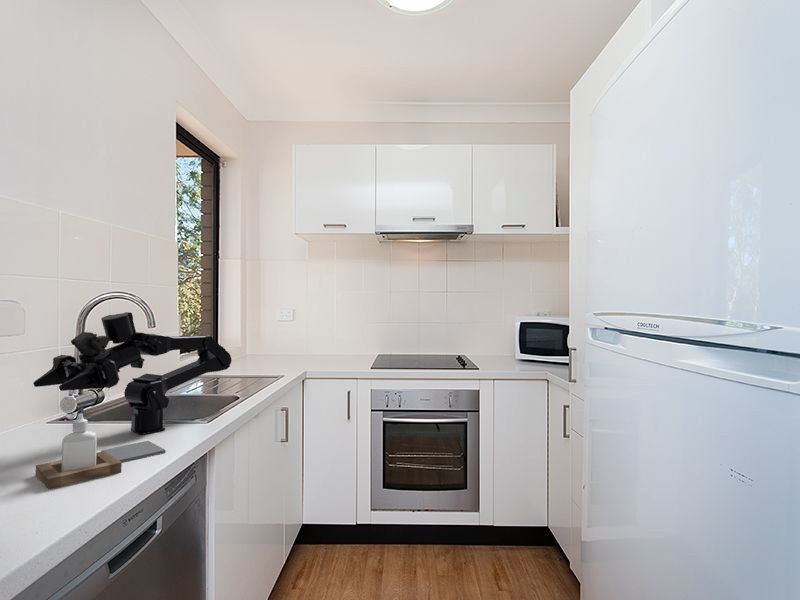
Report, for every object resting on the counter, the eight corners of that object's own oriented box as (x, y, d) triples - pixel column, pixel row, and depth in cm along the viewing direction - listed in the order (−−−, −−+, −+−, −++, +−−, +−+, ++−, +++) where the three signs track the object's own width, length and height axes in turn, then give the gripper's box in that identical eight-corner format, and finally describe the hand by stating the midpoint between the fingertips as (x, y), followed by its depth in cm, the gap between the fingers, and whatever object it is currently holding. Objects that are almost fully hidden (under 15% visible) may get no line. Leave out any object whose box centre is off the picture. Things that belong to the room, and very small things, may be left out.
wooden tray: (105, 460, 99) (105, 451, 99) (121, 472, 92) (121, 462, 92) (35, 475, 90) (35, 465, 90) (48, 489, 83) (48, 478, 83)
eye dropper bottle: (85, 478, 89) (86, 417, 89) (56, 477, 89) (58, 416, 89) (100, 470, 93) (101, 411, 93) (72, 469, 93) (74, 411, 93)
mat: (148, 443, 111) (148, 440, 111) (165, 452, 105) (165, 449, 105) (101, 452, 104) (101, 450, 104) (116, 463, 97) (116, 460, 97)
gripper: (81, 326, 114) (10, 349, 100) (131, 329, 107) (62, 354, 93) (93, 367, 117) (25, 395, 103) (143, 373, 110) (77, 403, 96)
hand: (46, 386), depth 99 cm, fingers open, 9 cm apart
